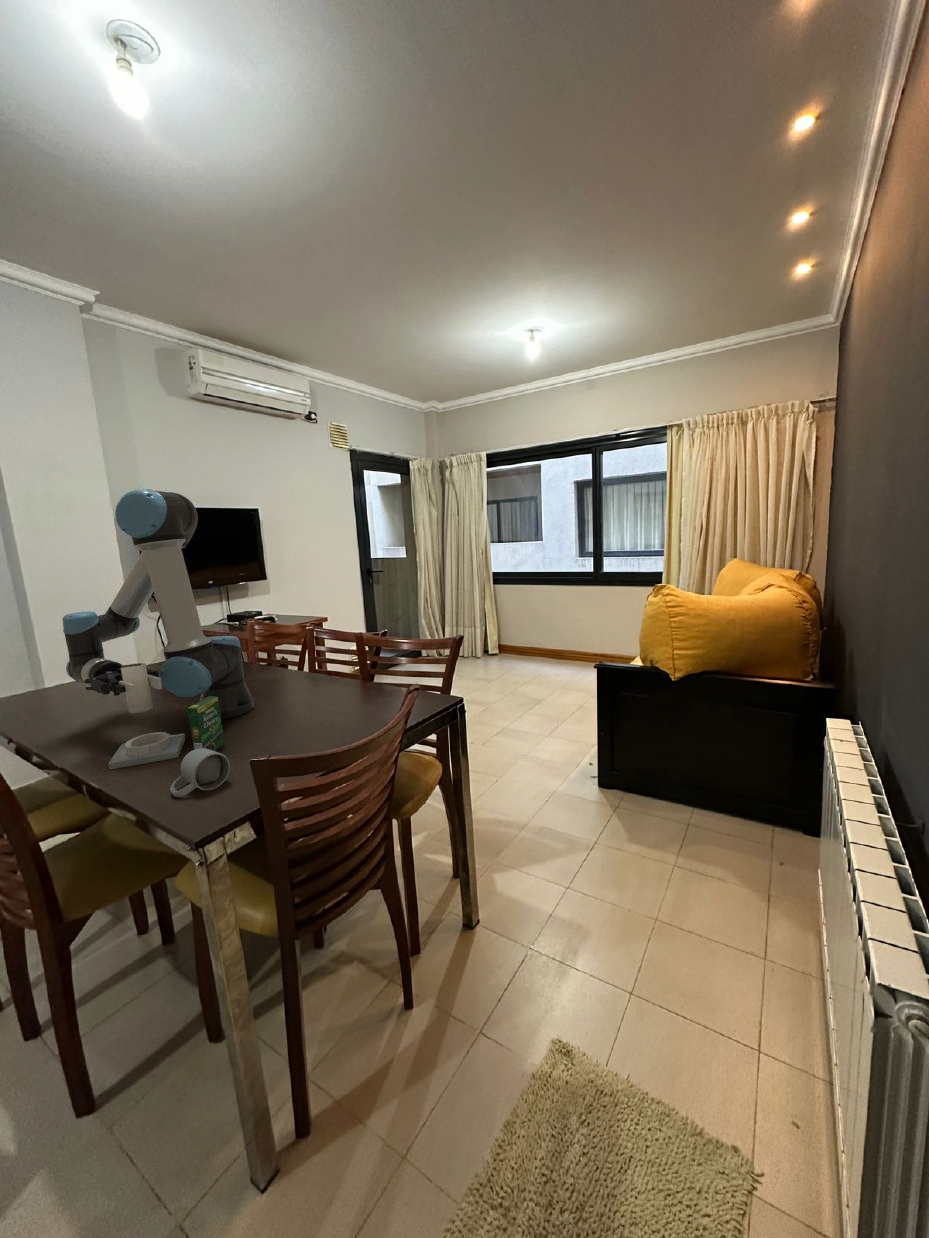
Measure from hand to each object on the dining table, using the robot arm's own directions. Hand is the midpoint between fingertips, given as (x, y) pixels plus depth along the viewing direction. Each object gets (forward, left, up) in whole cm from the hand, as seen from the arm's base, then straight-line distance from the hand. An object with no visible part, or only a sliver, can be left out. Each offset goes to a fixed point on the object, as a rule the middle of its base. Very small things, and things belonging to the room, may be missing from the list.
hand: (146, 686), depth 116 cm
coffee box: (-12, +2, -18) cm, 22 cm away
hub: (+2, -4, -18) cm, 19 cm away
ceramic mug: (-11, +20, -18) cm, 29 cm away
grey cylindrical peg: (+3, -4, -7) cm, 8 cm away
